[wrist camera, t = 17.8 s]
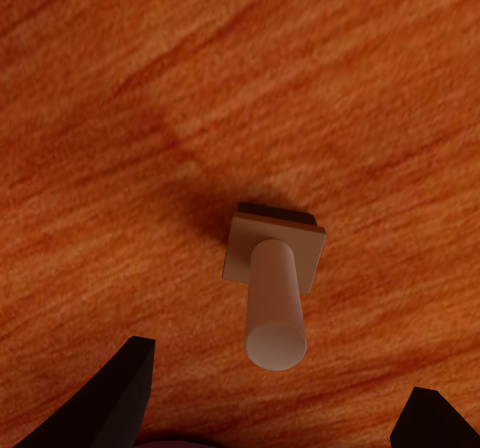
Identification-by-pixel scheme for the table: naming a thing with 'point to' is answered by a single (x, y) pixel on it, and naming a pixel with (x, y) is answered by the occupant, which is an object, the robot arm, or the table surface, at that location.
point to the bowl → (172, 445)
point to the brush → (273, 279)
